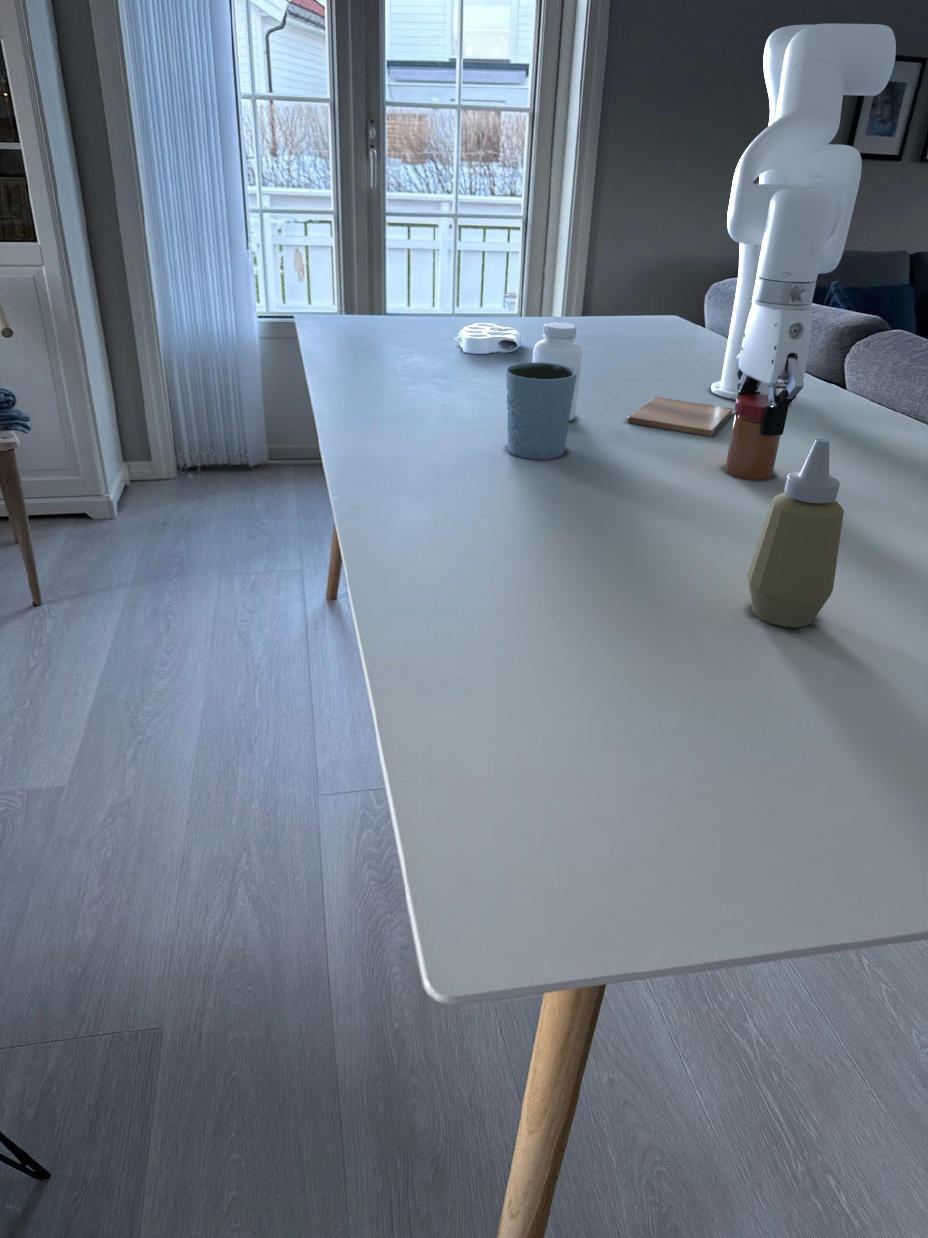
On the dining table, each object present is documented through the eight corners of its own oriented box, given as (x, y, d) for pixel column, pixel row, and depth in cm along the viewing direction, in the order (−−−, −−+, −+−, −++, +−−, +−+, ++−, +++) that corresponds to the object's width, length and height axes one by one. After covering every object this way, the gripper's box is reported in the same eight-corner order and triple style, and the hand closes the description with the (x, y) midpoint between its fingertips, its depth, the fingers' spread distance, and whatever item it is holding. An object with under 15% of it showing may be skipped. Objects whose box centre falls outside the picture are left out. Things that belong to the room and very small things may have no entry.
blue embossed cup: (575, 446, 138) (583, 366, 132) (560, 465, 129) (567, 381, 124) (512, 437, 140) (517, 359, 135) (493, 455, 132) (497, 373, 126)
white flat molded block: (515, 356, 193) (448, 352, 194) (523, 340, 208) (461, 336, 210) (516, 340, 191) (449, 336, 193) (524, 325, 207) (461, 321, 208)
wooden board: (654, 402, 163) (655, 396, 163) (732, 413, 158) (733, 408, 157) (627, 422, 150) (628, 416, 150) (710, 436, 145) (711, 430, 145)
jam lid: (793, 412, 126) (795, 400, 125) (774, 423, 121) (777, 410, 120) (745, 403, 130) (748, 390, 129) (725, 413, 125) (728, 400, 124)
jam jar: (730, 460, 134) (741, 396, 129) (776, 468, 131) (789, 403, 126) (720, 474, 128) (732, 408, 124) (768, 482, 126) (781, 415, 121)
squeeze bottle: (729, 597, 93) (762, 426, 85) (804, 596, 94) (844, 427, 86) (758, 635, 86) (798, 453, 78) (838, 634, 87) (887, 454, 78)
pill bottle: (573, 425, 148) (582, 331, 141) (524, 420, 149) (531, 327, 142) (577, 412, 155) (586, 322, 148) (531, 408, 156) (538, 318, 149)
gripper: (847, 304, 111) (815, 444, 120) (774, 284, 126) (751, 410, 135) (792, 304, 110) (764, 446, 118) (726, 283, 125) (705, 411, 133)
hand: (757, 425), depth 126 cm, fingers closed on jam lid, 6 cm apart
